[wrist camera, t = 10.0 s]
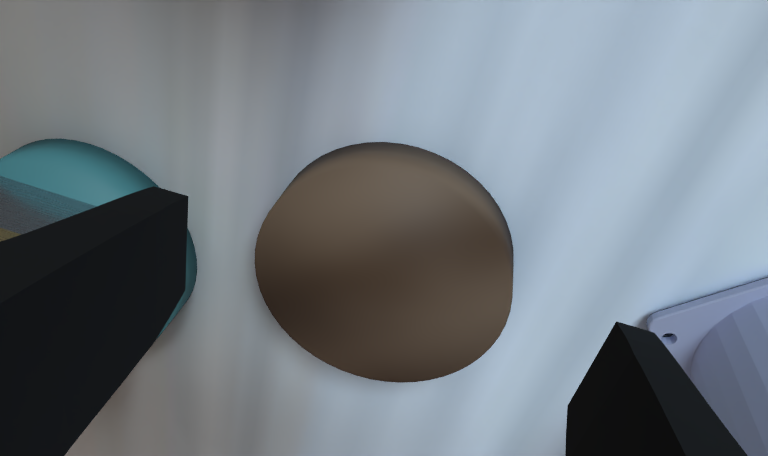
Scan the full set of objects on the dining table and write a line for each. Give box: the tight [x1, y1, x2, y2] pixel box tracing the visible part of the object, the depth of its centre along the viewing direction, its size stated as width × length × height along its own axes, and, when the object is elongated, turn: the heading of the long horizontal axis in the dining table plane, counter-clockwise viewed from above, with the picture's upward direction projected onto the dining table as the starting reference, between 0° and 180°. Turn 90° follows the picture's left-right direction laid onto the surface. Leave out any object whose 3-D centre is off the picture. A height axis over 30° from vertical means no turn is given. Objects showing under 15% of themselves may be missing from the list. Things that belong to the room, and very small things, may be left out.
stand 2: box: [255, 142, 513, 382], centre depth 21 cm, size 9×9×2 cm
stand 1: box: [0, 139, 197, 338], centre depth 24 cm, size 9×9×2 cm
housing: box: [0, 176, 97, 242], centre depth 21 cm, size 7×4×5 cm, turn 167°
